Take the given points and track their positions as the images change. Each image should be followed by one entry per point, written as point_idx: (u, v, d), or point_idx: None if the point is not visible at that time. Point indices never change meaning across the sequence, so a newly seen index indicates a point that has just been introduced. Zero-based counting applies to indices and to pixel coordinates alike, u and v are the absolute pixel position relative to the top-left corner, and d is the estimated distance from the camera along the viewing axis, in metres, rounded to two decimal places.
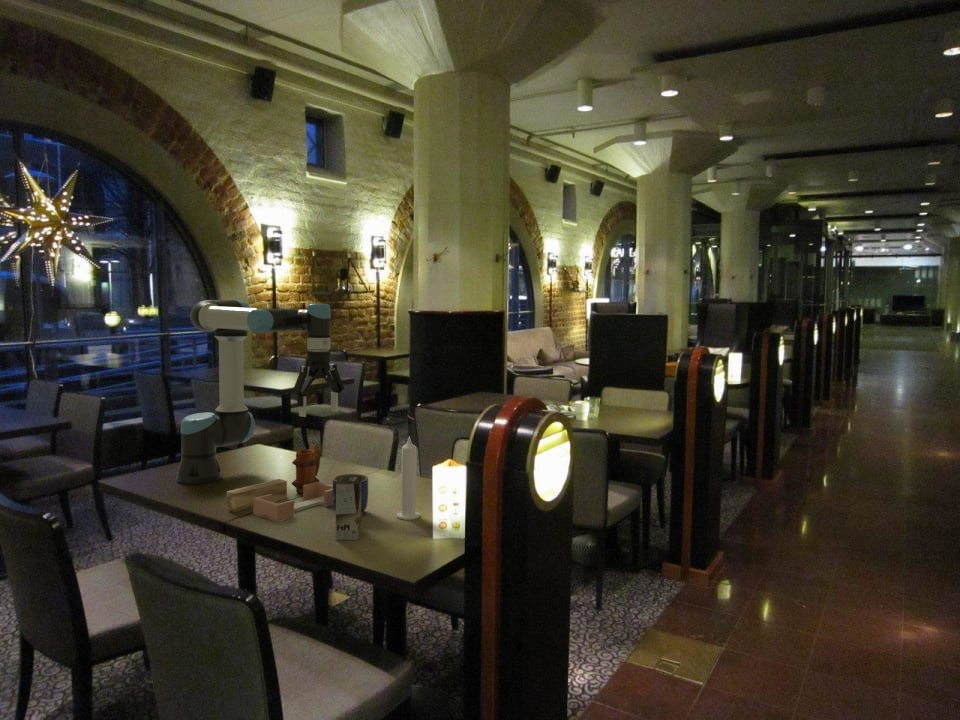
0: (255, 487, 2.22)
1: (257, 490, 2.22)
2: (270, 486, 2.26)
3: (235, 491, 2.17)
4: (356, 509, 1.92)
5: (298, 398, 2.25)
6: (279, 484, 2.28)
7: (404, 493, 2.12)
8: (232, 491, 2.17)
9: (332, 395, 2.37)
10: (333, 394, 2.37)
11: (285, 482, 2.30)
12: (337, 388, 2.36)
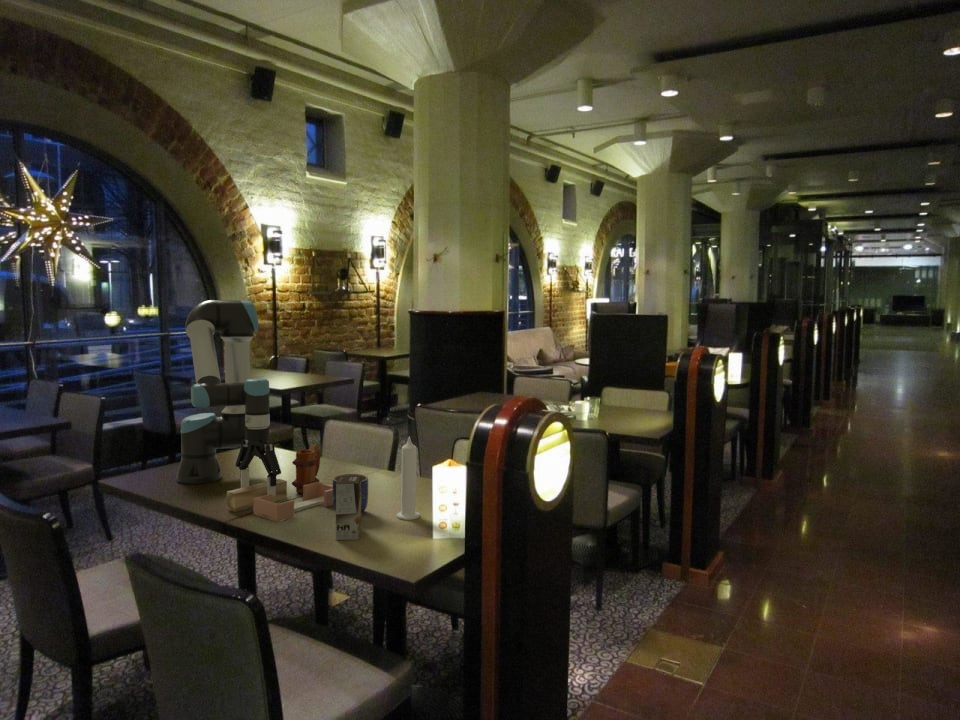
0: (255, 487, 2.22)
1: (257, 490, 2.22)
2: None
3: (235, 491, 2.17)
4: (356, 509, 1.92)
5: None
6: (279, 484, 2.28)
7: (404, 493, 2.12)
8: (232, 491, 2.17)
9: None
10: None
11: (285, 482, 2.30)
12: (268, 471, 2.18)
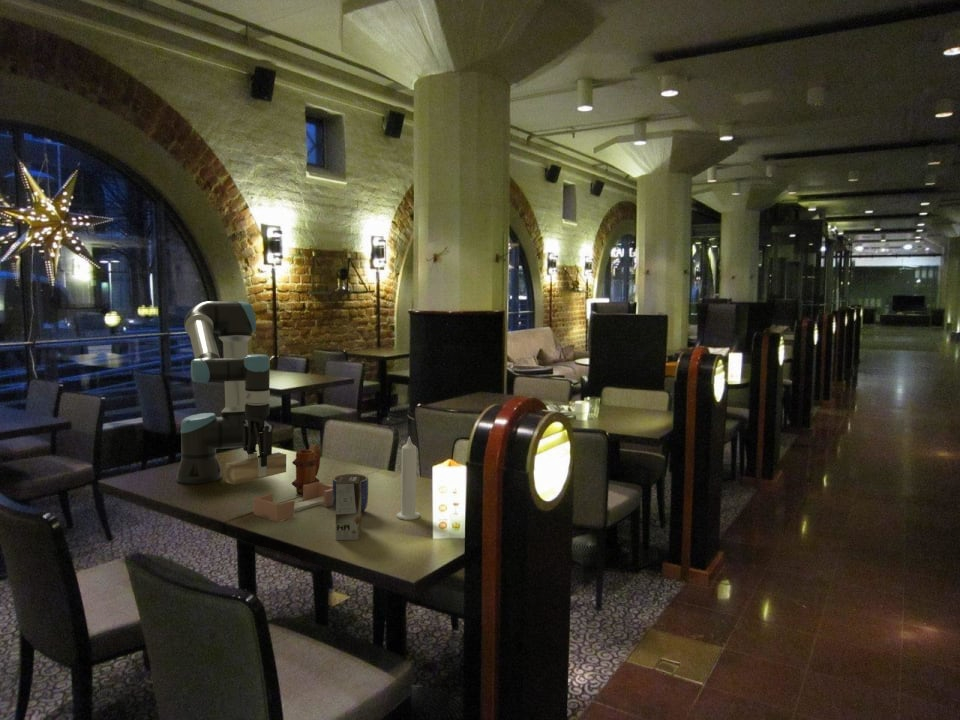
0: (255, 460, 2.22)
1: (257, 463, 2.21)
2: (269, 459, 2.25)
3: (235, 463, 2.17)
4: (356, 509, 1.92)
5: None
6: (278, 457, 2.28)
7: (404, 493, 2.12)
8: (232, 463, 2.16)
9: None
10: None
11: (284, 455, 2.30)
12: (260, 452, 2.20)
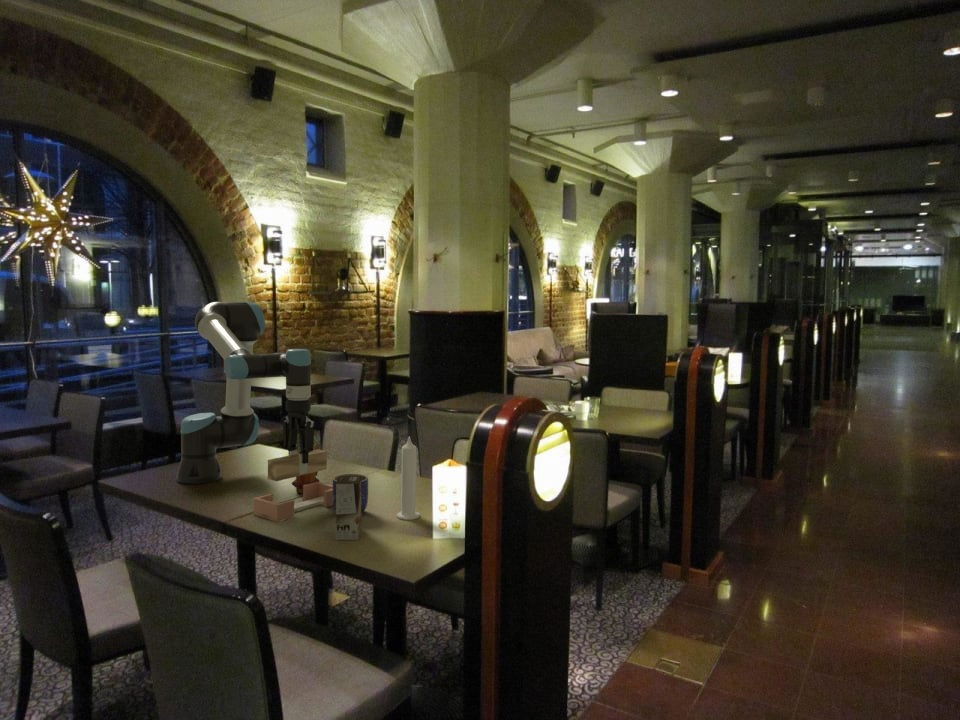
0: (296, 456, 2.17)
1: (298, 460, 2.16)
2: (310, 456, 2.20)
3: (276, 460, 2.12)
4: (356, 509, 1.92)
5: None
6: (319, 454, 2.23)
7: (404, 493, 2.12)
8: (273, 459, 2.12)
9: None
10: None
11: (325, 452, 2.25)
12: (301, 448, 2.16)
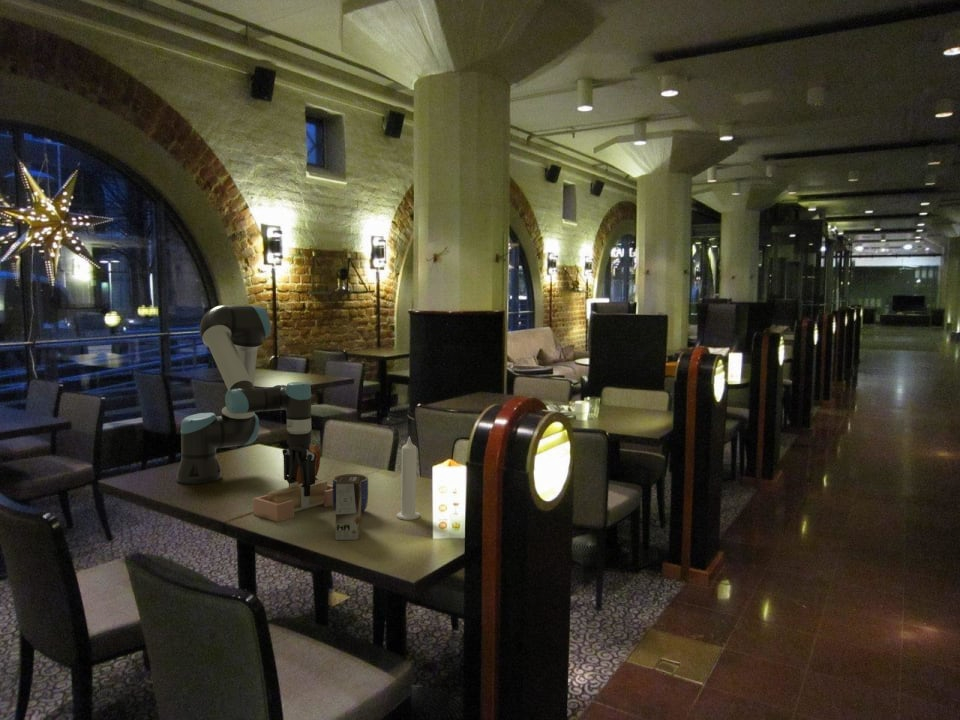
0: (296, 488, 2.18)
1: (299, 491, 2.17)
2: (311, 487, 2.21)
3: (277, 492, 2.13)
4: (356, 509, 1.92)
5: None
6: (319, 485, 2.24)
7: (404, 493, 2.12)
8: (274, 492, 2.13)
9: None
10: None
11: (325, 483, 2.26)
12: (303, 481, 2.16)
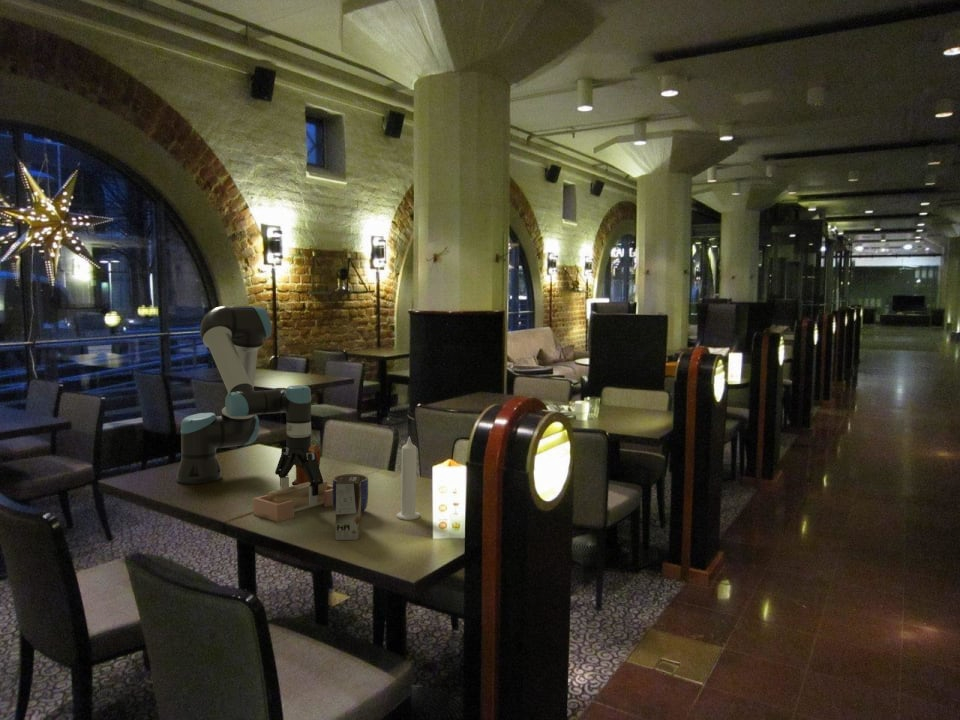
0: (296, 488, 2.18)
1: (299, 491, 2.17)
2: None
3: (277, 492, 2.13)
4: (356, 509, 1.92)
5: None
6: (319, 485, 2.24)
7: (404, 493, 2.12)
8: (274, 492, 2.13)
9: None
10: None
11: (325, 483, 2.26)
12: (310, 481, 2.14)
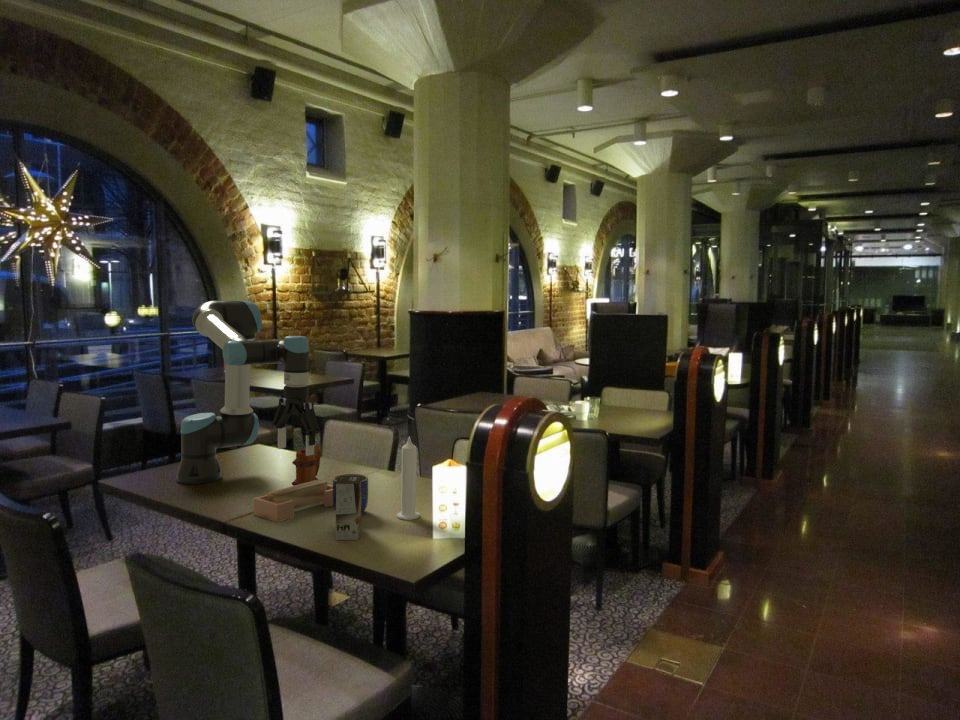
0: (296, 488, 2.18)
1: (299, 491, 2.17)
2: (311, 487, 2.21)
3: (277, 492, 2.13)
4: (356, 509, 1.92)
5: None
6: (319, 485, 2.24)
7: (404, 493, 2.12)
8: (274, 492, 2.13)
9: None
10: None
11: (325, 483, 2.26)
12: (307, 430, 2.15)
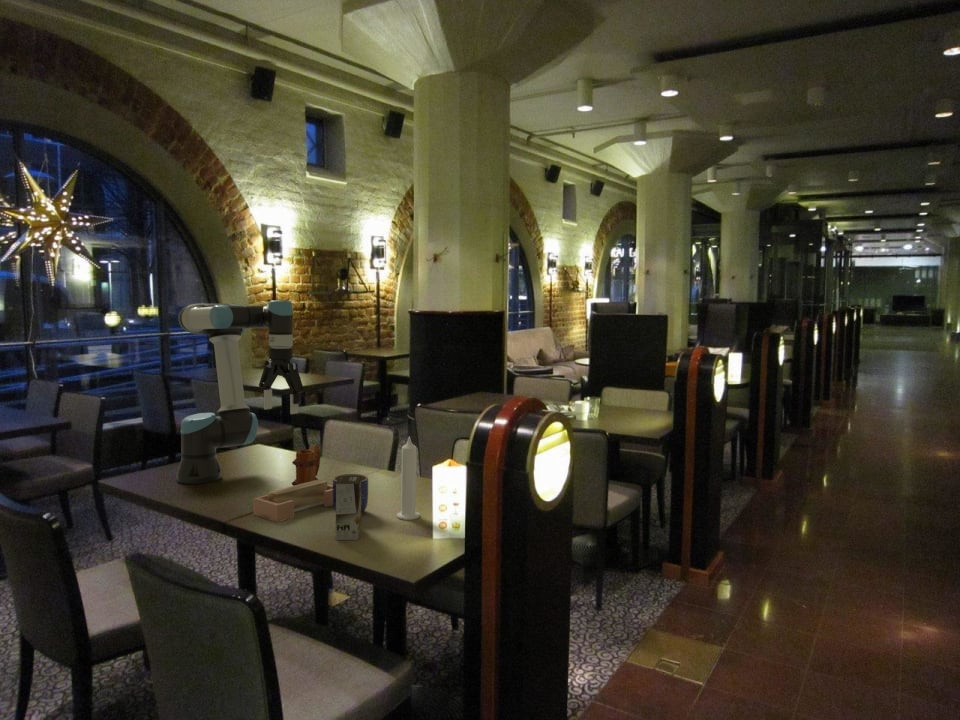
0: (296, 488, 2.18)
1: (299, 491, 2.17)
2: (311, 487, 2.21)
3: (277, 492, 2.13)
4: (356, 509, 1.92)
5: None
6: (319, 485, 2.24)
7: (404, 493, 2.12)
8: (274, 492, 2.13)
9: None
10: None
11: (325, 483, 2.26)
12: (291, 389, 2.25)
